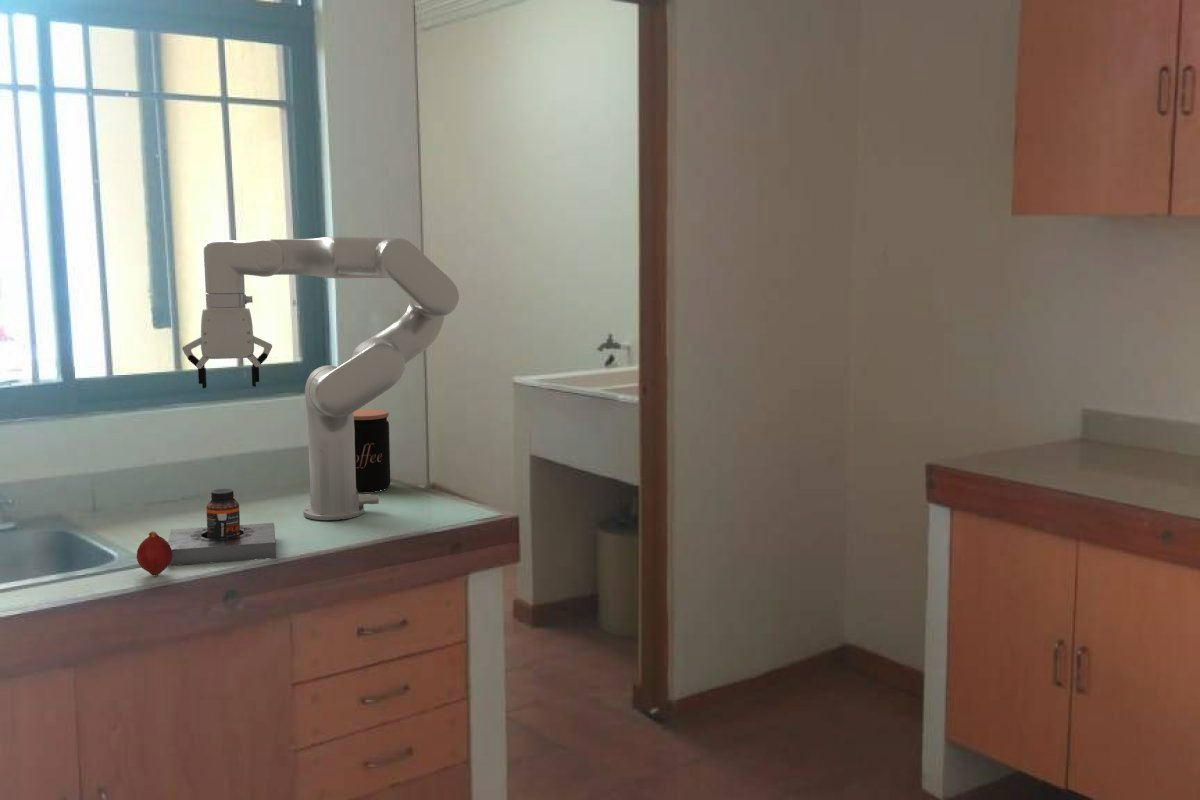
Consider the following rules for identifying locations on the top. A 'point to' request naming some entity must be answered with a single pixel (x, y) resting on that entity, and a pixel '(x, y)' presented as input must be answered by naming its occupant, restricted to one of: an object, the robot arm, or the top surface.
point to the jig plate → (222, 545)
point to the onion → (154, 554)
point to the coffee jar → (372, 450)
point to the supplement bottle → (223, 515)
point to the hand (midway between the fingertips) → (229, 386)
